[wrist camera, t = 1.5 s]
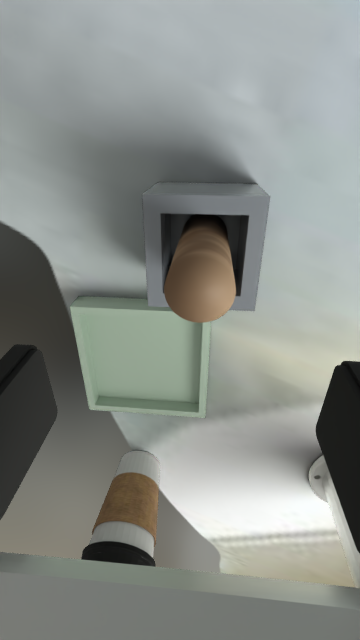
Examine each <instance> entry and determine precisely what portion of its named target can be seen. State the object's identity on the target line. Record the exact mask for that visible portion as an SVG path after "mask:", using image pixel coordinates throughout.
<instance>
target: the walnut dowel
mask: <svg viewBox="0 0 360 640" xmlns="http://www.w3.org/2000/svg"><path fill="white" fill-rule="evenodd" d="M164 295H165V299H166V301H167V303H168V305H169V307H170V308H171V310H172V311H173V312H174V313H175V314H177V315H178V316H179V317H181V318H183V319H185V320H188V321H191V322H197V323H204V322H210V321H213V320H216V319H218V318H220V317H221V316H223V315H224V314H225V313H226V312H227V311H228V310H229V309H230V307H231V306H232V304H233V302H234V299H235V295H236V285H235V279H234V272H233V266H232V259H231V253H230V246H229V240H228V234H227V228H226V226H225V223H224V222H223V221H222V219H221V218H220V217H218V216H217V215H215V214H195V215H193V216H192V217H191V218H189V219H188V221H187V222H186V223H185V225H184V228H183V231H182V233H181V236H180V239H179V242H178V245H177V248H176V251H175V254H174V257H173V260H172V263H171V266H170V269H169V272H168V275H167V278H166V281H165V285H164Z"/></svg>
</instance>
